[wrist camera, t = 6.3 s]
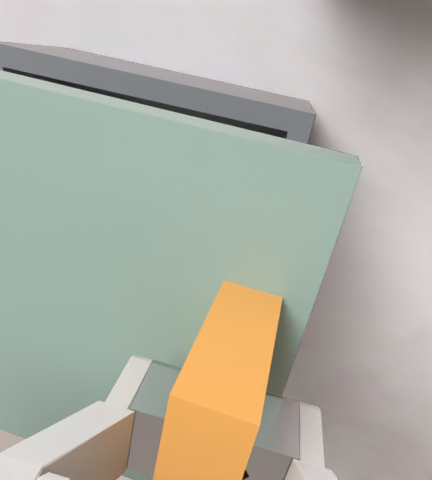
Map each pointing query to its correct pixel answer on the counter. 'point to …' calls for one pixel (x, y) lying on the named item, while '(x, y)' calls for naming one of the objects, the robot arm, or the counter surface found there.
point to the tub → (163, 89)
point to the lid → (156, 264)
